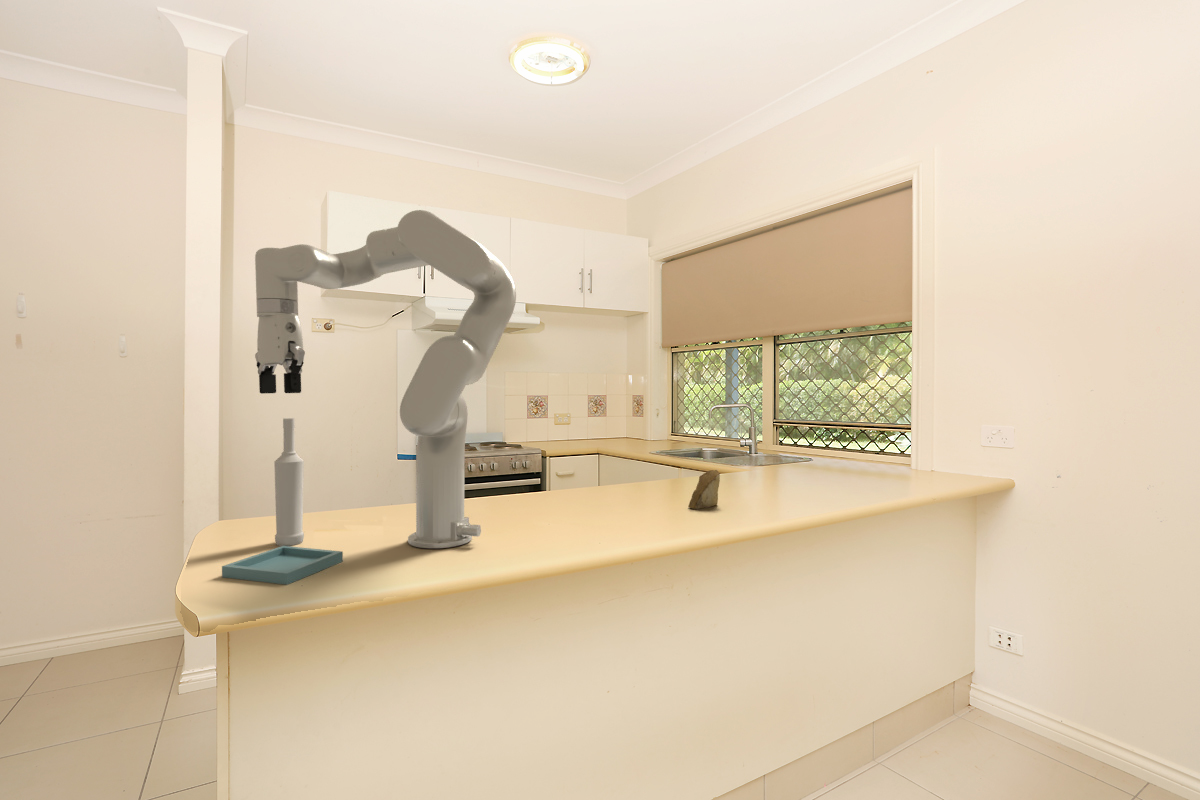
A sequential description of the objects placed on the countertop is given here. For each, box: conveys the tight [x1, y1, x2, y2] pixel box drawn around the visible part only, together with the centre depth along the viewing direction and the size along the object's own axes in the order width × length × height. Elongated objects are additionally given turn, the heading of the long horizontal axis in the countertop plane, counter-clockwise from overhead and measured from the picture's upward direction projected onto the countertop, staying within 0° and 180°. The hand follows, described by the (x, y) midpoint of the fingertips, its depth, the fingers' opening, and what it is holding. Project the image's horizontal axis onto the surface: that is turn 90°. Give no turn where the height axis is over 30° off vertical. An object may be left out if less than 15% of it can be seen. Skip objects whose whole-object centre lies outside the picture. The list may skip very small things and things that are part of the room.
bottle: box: [273, 417, 305, 547], centre depth 119 cm, size 5×5×25 cm
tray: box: [221, 545, 344, 586], centre depth 103 cm, size 13×13×2 cm
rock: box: [688, 469, 721, 510], centre depth 159 cm, size 11×9×10 cm
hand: (280, 393), depth 123 cm, fingers open, 9 cm apart
